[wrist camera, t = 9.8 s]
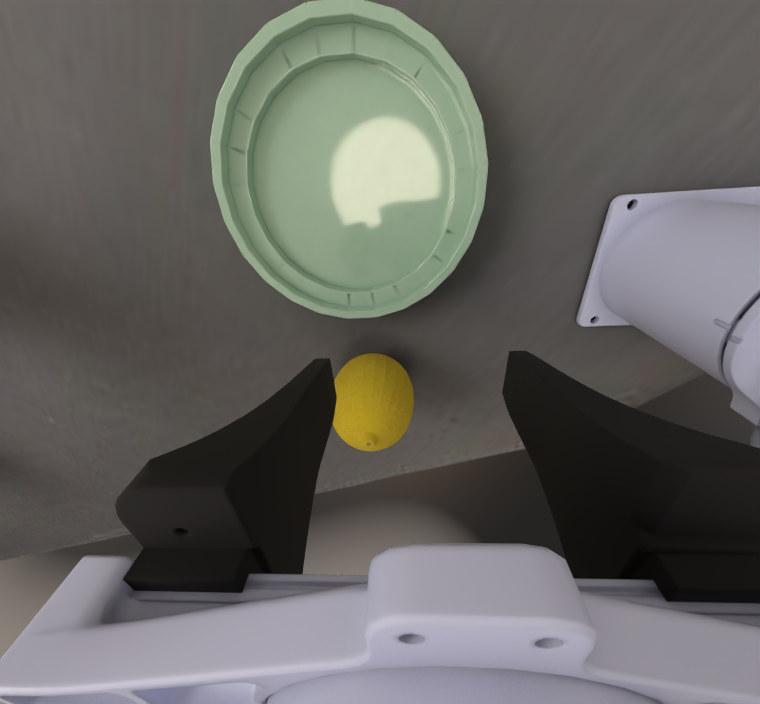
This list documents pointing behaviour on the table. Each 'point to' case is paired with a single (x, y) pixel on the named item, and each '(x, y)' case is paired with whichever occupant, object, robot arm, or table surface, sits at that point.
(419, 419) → the table surface
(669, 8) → the table surface
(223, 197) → the plate
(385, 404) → the lemon
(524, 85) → the table surface
